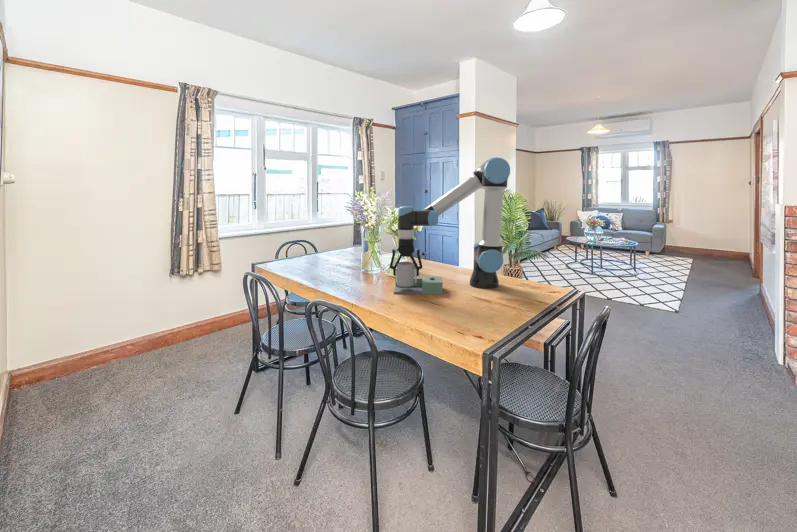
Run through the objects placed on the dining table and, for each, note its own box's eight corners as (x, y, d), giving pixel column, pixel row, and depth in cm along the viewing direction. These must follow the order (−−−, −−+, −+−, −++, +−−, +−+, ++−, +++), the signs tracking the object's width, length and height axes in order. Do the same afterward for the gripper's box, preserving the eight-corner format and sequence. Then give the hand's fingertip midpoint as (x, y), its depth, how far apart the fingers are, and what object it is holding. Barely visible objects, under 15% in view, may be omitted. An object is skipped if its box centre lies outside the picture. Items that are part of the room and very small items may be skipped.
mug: (405, 287, 191) (405, 265, 189) (393, 284, 197) (393, 263, 194) (421, 283, 199) (422, 262, 197) (409, 280, 205) (409, 260, 203)
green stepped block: (441, 287, 204) (441, 274, 203) (442, 294, 192) (442, 280, 190) (395, 287, 206) (395, 274, 205) (393, 294, 193) (393, 280, 192)
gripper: (428, 237, 196) (427, 280, 201) (384, 236, 198) (385, 280, 202) (428, 239, 189) (427, 284, 193) (383, 238, 190) (383, 283, 195)
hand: (406, 282), depth 198 cm, fingers closed on mug, 9 cm apart
